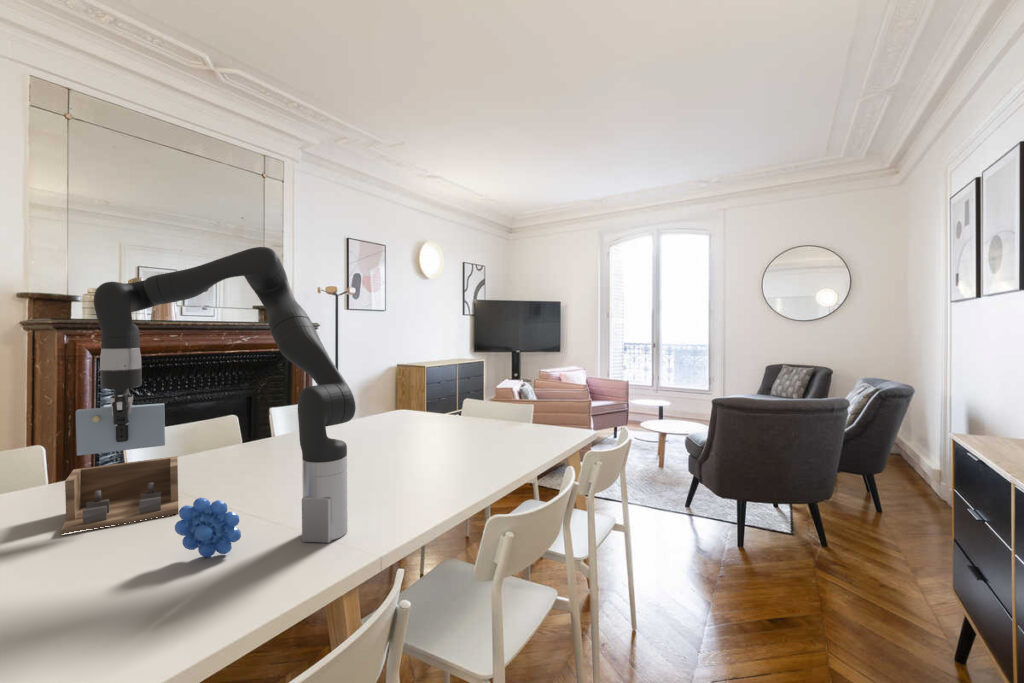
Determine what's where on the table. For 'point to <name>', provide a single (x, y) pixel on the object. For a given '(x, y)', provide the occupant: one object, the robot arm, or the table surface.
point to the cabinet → (120, 493)
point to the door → (101, 432)
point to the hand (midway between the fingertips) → (122, 439)
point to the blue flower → (208, 527)
